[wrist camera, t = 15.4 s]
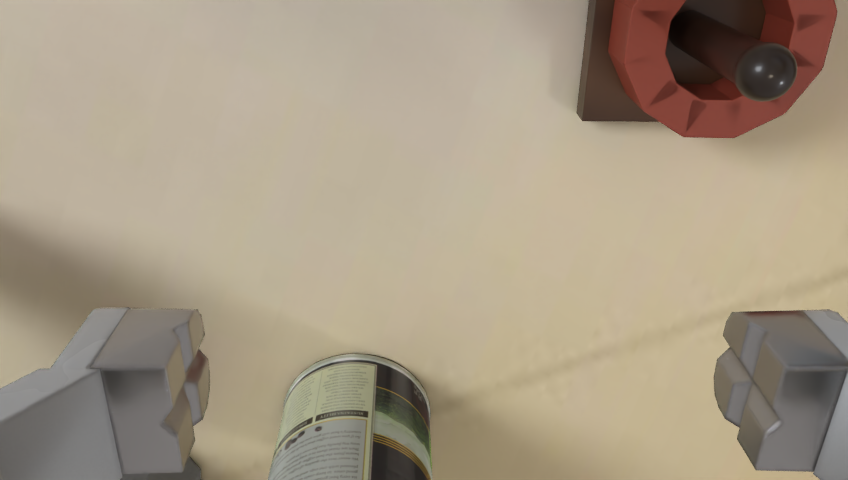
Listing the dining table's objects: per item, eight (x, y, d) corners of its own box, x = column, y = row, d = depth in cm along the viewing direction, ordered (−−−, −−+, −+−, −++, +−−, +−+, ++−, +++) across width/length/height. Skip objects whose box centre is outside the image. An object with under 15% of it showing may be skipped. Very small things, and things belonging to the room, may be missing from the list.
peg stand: (597, -78, 38) (675, -58, 27) (790, -74, 38) (942, -54, 27) (576, 113, 42) (635, 194, 31) (749, 115, 42) (865, 195, 32)
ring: (625, -80, 36) (644, -76, 33) (824, -74, 37) (860, -70, 34) (598, 117, 41) (613, 136, 38) (776, 121, 41) (804, 139, 38)
